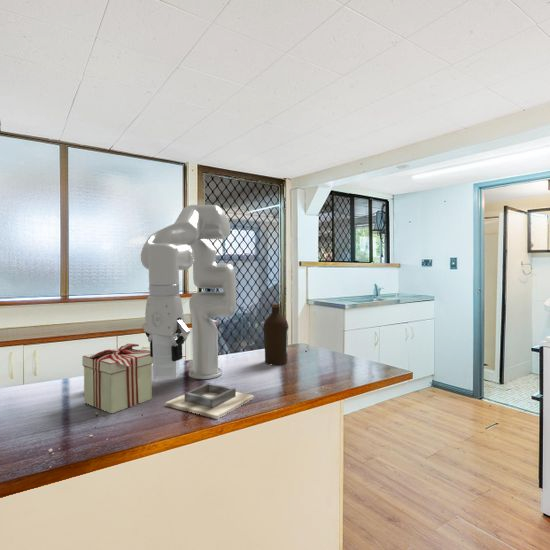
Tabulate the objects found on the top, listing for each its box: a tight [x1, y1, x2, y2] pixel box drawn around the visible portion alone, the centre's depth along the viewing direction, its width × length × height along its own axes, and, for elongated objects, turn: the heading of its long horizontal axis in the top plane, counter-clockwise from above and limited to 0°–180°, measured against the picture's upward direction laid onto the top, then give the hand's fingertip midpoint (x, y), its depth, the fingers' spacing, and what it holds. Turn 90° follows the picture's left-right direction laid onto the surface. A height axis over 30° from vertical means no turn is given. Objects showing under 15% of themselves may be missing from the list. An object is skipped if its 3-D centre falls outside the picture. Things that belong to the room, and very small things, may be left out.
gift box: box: [81, 343, 153, 414], centre depth 119 cm, size 17×18×17 cm
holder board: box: [165, 382, 255, 420], centre depth 118 cm, size 20×18×4 cm
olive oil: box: [263, 303, 289, 366], centre depth 163 cm, size 11×11×25 cm
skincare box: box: [152, 332, 181, 380], centre depth 101 cm, size 6×4×12 cm
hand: (166, 357), depth 101 cm, fingers closed on skincare box, 7 cm apart
